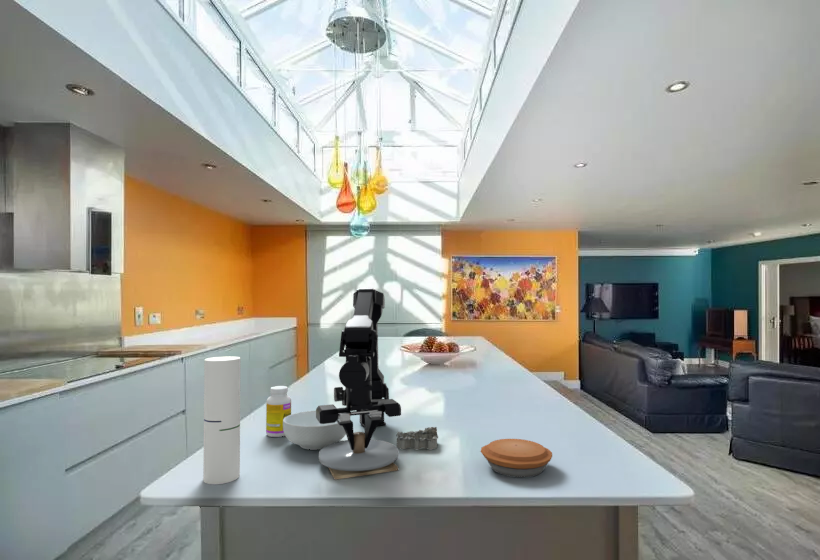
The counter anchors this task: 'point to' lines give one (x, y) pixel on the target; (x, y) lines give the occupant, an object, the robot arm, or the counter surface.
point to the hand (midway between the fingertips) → (359, 448)
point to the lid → (358, 454)
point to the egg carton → (418, 439)
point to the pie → (516, 457)
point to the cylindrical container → (221, 419)
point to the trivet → (361, 472)
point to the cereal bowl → (311, 431)
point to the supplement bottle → (277, 410)
